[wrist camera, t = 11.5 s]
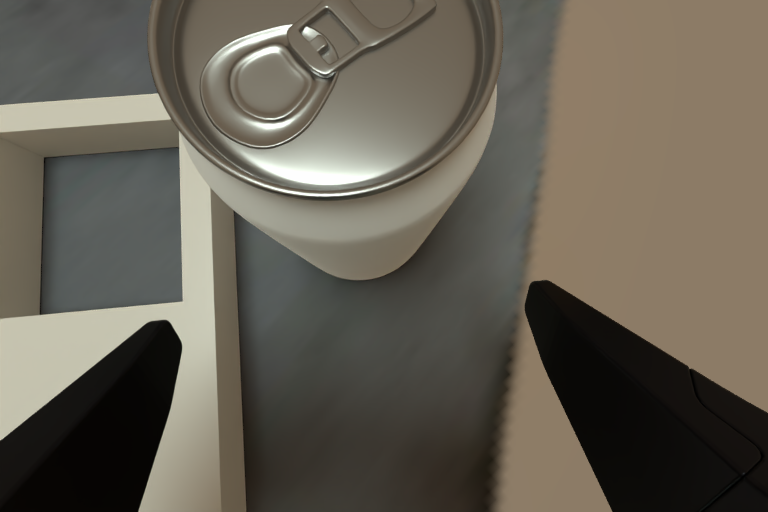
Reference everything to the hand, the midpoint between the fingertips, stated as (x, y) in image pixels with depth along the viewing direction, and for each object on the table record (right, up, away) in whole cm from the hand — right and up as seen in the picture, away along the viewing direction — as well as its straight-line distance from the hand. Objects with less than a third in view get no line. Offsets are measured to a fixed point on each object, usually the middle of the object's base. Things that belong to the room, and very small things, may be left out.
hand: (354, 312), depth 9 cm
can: (0, +3, +9) cm, 9 cm away
